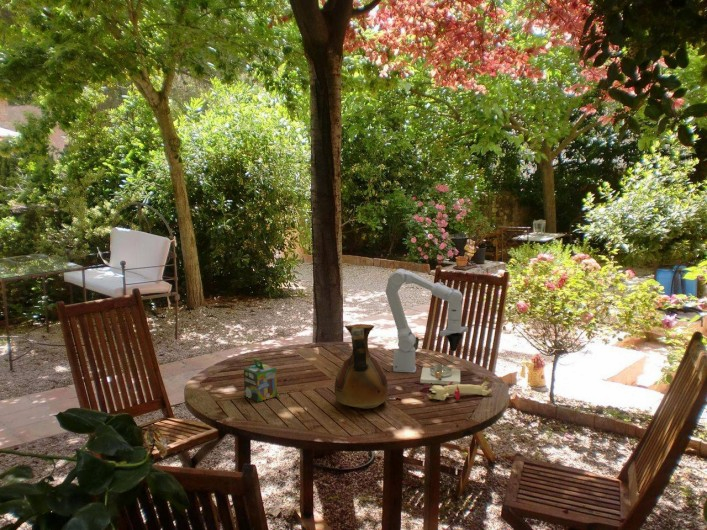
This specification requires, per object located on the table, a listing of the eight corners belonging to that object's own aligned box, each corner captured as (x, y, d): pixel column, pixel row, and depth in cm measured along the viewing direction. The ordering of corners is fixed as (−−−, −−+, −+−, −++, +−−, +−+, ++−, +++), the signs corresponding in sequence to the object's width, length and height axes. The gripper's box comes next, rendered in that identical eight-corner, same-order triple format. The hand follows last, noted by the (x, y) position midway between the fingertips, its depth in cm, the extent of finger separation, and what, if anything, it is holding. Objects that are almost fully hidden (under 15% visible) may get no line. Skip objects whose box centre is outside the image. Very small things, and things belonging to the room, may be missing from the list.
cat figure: (482, 393, 239) (423, 393, 232) (484, 372, 238) (425, 371, 231) (494, 402, 229) (432, 402, 223) (496, 380, 228) (435, 380, 222)
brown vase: (385, 394, 233) (386, 318, 229) (390, 414, 213) (391, 332, 209) (334, 395, 232) (334, 319, 228) (334, 415, 212) (334, 332, 208)
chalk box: (277, 397, 230) (277, 359, 228) (257, 403, 224) (257, 364, 222) (263, 390, 237) (262, 354, 235) (243, 396, 230) (242, 359, 228)
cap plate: (420, 382, 247) (420, 379, 246) (422, 370, 262) (422, 367, 262) (460, 385, 244) (460, 381, 244) (460, 372, 260) (460, 369, 259)
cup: (419, 356, 283) (419, 339, 282) (403, 356, 283) (403, 339, 282) (418, 352, 291) (418, 335, 289) (402, 351, 291) (402, 335, 290)
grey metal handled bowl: (431, 369, 258) (431, 359, 258) (452, 371, 256) (452, 360, 255) (426, 382, 241) (426, 371, 241) (449, 384, 239) (449, 373, 238)
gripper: (448, 323, 247) (447, 355, 249) (473, 318, 256) (472, 349, 257) (436, 319, 253) (436, 351, 255) (461, 315, 261) (460, 346, 263)
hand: (453, 350), depth 257 cm, fingers closed
